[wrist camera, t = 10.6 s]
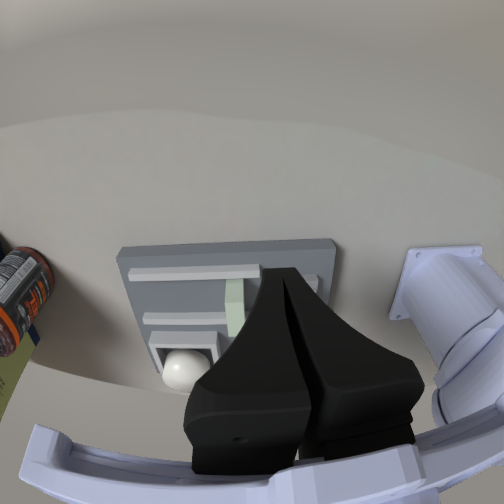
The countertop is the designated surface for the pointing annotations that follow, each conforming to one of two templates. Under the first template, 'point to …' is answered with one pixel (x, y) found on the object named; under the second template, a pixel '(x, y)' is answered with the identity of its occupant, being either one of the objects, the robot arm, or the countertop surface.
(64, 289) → the countertop surface
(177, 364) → the white button
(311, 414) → the robot arm
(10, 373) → the protein box
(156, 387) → the countertop surface
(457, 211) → the countertop surface
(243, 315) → the sage paddle
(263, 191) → the countertop surface
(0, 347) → the supplement bottle
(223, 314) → the switch panel
